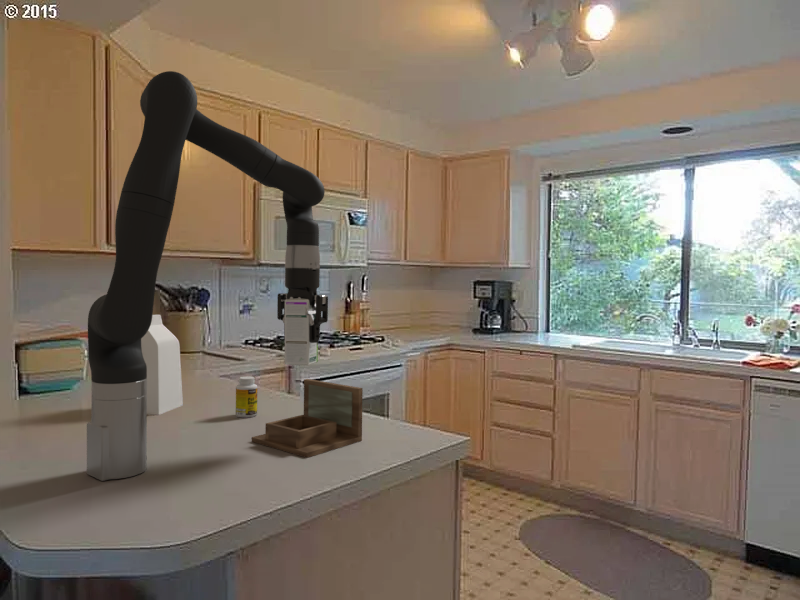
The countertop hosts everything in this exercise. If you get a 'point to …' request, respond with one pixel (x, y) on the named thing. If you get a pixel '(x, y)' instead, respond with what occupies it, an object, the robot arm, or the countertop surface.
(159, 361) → the milk
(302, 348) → the syrup box
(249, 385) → the supplement bottle
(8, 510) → the countertop surface
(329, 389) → the display stand
